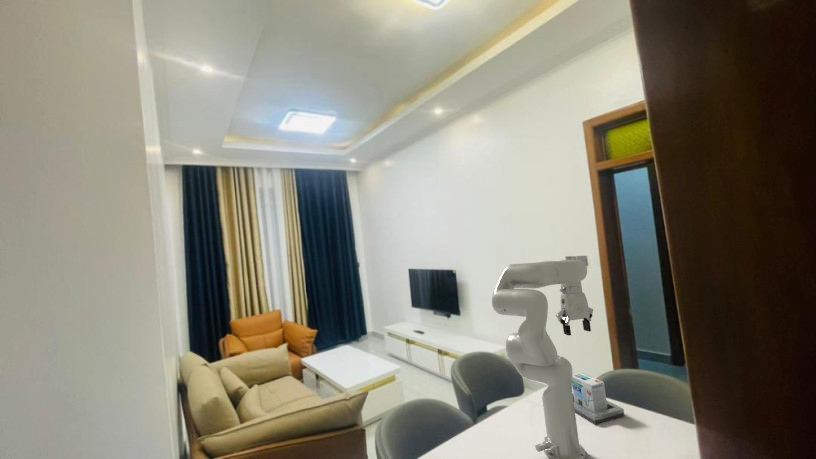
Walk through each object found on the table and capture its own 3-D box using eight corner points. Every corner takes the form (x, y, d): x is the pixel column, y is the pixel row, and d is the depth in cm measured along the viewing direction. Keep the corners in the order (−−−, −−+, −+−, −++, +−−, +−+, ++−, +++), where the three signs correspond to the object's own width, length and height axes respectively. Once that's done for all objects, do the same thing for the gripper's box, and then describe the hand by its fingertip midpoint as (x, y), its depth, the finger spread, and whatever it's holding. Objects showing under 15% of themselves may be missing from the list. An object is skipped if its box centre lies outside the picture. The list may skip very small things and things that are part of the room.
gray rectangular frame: (595, 425, 117) (594, 417, 117) (560, 403, 134) (559, 396, 135) (624, 416, 121) (623, 408, 121) (587, 396, 138) (586, 390, 138)
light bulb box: (573, 402, 132) (570, 375, 132) (586, 398, 134) (583, 372, 134) (595, 413, 121) (591, 385, 122) (608, 409, 123) (604, 381, 124)
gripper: (560, 293, 121) (566, 338, 120) (596, 288, 126) (602, 331, 125) (547, 292, 129) (553, 334, 127) (581, 286, 133) (587, 327, 132)
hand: (577, 332), depth 126 cm, fingers open, 9 cm apart
